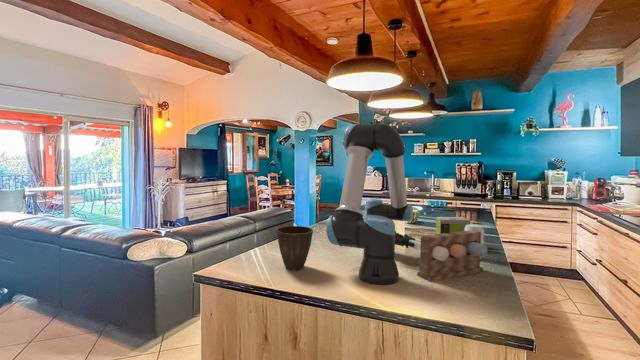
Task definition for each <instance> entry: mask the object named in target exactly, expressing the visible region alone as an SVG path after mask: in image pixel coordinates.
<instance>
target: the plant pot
mask: <svg viewBox="0 0 640 360" xmlns="http://www.w3.org/2000/svg"><path fill="white" fill-rule="evenodd" d="M313 232H314V229H313V228H312V227H308V226H304V225H303V226H301V225H290V226H282V227H279V228H277V229H276V235H277V243H278V248H279V251H280V255H281V259H282V261H283V264H284V267H285V269H287V270H288V271H300V270H302V269H303V268H304V266H305V264H306V262H307V258H308V255H309V253H310V248H311V243H312V240H313Z"/></svg>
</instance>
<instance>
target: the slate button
mask: <svg viewBox="0 0 640 360" xmlns="http://www.w3.org/2000/svg"><path fill="white" fill-rule="evenodd" d="M467 253H469V254H473V255H476V256H479V257H483V258H484V257H486V256H487V253H488V247H487V245H486V244H485V243H484V244H480V243H476V242H473V241H467Z"/></svg>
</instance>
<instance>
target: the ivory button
mask: <svg viewBox="0 0 640 360" xmlns="http://www.w3.org/2000/svg"><path fill="white" fill-rule="evenodd" d="M448 255H449V252H448V250H447V249H446V248H443V247H440V246H433V254H432V258H435V259H437V260H440V261H445V260H446V259H447V258H448Z"/></svg>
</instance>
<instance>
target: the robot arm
mask: <svg viewBox="0 0 640 360" xmlns="http://www.w3.org/2000/svg"><path fill="white" fill-rule="evenodd" d="M343 148H344V149H345V150H346V153H347V155H348V159H347V163H346V164H347V165H346V170H345V175H344V181H343V185H342V190H341V191H342V192H341V196H340V201H339V207H337V208H336V209H334V213H333V214H332V215H329V216H328V218H327V219H326V224H325V229H326V230H325V232H326V237H327V239H328V241H329V242H330V244H331V245H335V246H339V247H348V248H356V249H363V257H362V260H361V264H360V267H359V269H358V279H360V280H361V281H362V282H365V283H369V284H372V285H391V284H395V283H397V282H398V281H400V280H399V279H400V272H399V269H398V265H397V262H396V258H395V257H396V256H395V252H396V251H395V250H396V248H395V247H396V246H400V247H404V246H405V249H408V248H409V247H410V248H412V249H415V250H419V251H421V241H417V240H416V238H415V237H413V236H410V235H408V234H407V233H405V234H404V235H403V234H401V233H399V232H397V230H396V224H395V221H400V222H410V221H412V220H413V214H414V209H413V206H412V205H410V204H408V200H407V199H408V197H407V187H406V185H407V184H406V175H405V163H404V155H405V154H406V149H405V148H406V147H405V143H404V139H402V137H401V135H400V133H399V132H398V131H397V129H395V127H393V126H391V125H390V124H388V123H385V122H379V123H357V124H351V125H348V126H347V128H346V129H345V132H344V135H343ZM375 151H376V152H377V151H378V152H379V151H381V153H382V157H383V158H384V159H385V166H386V175H387V182H388V192H389V200H390V203H383V200H382V199H379V198H369V199H367V201H366V208H365V211H366V215H364V214H363V213H362V212H361V207H362V201H363V195H364V189H365V184H366V177H367V173H368V172H367V171H368V165H369V159H371V158H372V157H373V156H374V152H375ZM395 245H396V246H395Z"/></svg>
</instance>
